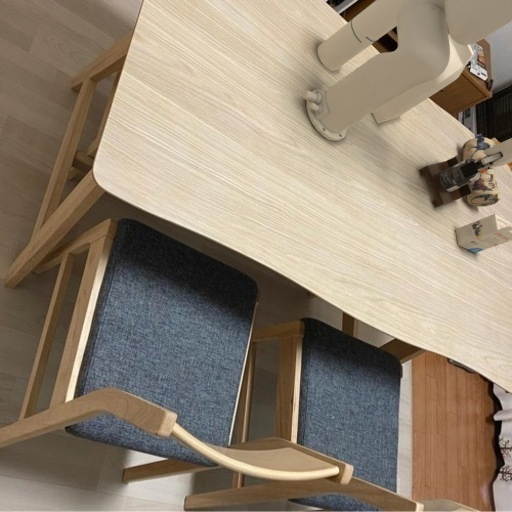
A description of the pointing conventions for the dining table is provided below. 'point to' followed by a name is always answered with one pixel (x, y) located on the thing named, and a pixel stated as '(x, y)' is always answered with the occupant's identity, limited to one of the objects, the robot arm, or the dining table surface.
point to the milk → (427, 85)
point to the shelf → (437, 188)
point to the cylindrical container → (359, 33)
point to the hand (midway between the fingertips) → (468, 170)
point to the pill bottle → (458, 176)
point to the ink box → (484, 233)
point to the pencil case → (486, 184)
